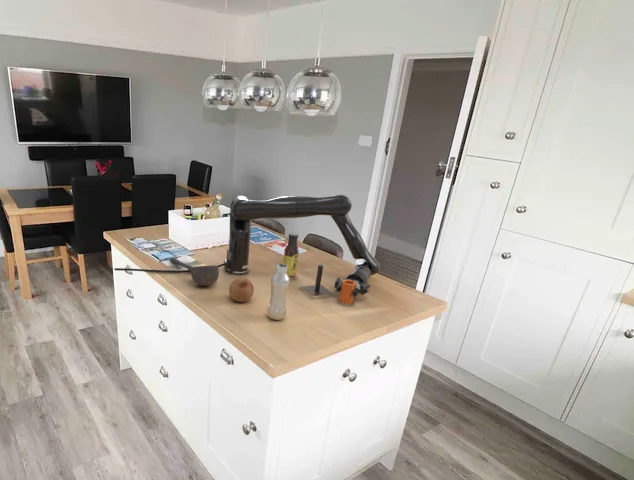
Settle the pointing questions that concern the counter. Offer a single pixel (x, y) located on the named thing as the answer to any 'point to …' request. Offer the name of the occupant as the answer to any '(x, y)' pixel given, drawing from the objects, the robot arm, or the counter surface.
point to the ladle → (201, 273)
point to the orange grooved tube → (347, 291)
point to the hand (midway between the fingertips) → (345, 292)
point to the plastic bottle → (278, 293)
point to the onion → (241, 290)
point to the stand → (317, 285)
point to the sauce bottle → (291, 255)
